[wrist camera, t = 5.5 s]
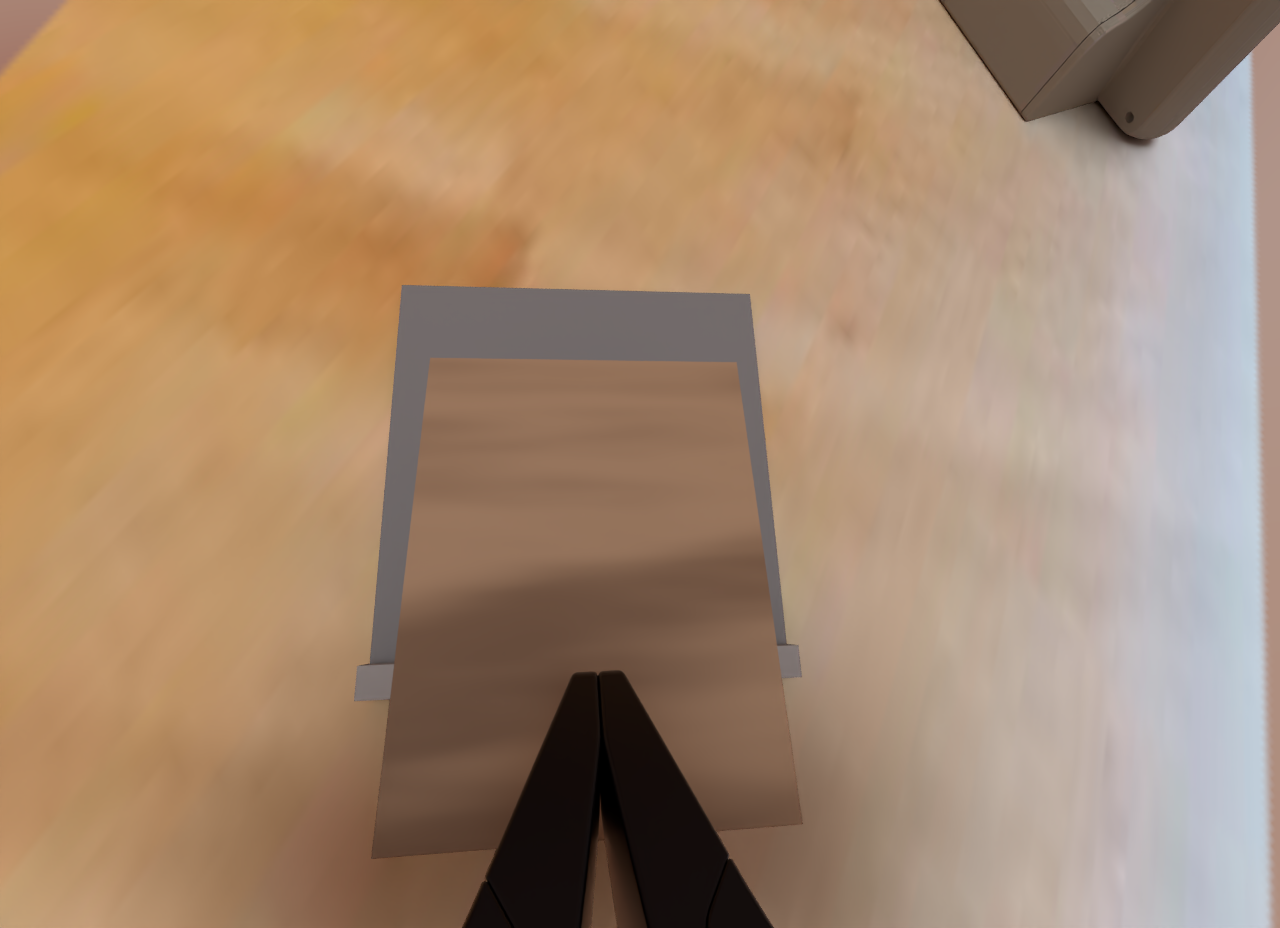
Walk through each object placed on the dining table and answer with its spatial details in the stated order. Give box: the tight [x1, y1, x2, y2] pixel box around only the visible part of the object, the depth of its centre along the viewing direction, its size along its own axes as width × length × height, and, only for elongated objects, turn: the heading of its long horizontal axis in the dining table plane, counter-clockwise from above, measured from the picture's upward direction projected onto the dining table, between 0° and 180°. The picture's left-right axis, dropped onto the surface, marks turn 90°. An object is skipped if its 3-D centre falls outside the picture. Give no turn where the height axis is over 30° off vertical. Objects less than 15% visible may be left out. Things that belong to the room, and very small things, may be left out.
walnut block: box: [371, 358, 802, 859], centre depth 17 cm, size 5×9×12 cm
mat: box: [354, 285, 802, 701], centre depth 21 cm, size 15×14×2 cm
